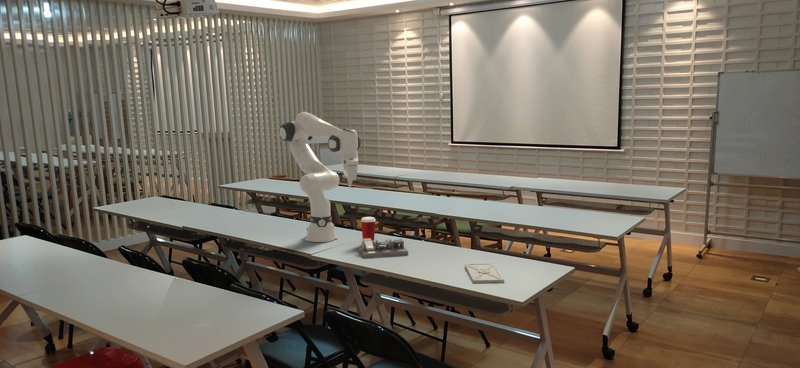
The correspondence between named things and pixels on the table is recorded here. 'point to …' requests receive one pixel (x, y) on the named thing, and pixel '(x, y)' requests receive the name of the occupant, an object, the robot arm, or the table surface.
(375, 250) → the switch panel
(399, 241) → the rocker
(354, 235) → the table surface
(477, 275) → the envelope
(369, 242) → the rocker
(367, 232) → the coffee cup
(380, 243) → the rocker
